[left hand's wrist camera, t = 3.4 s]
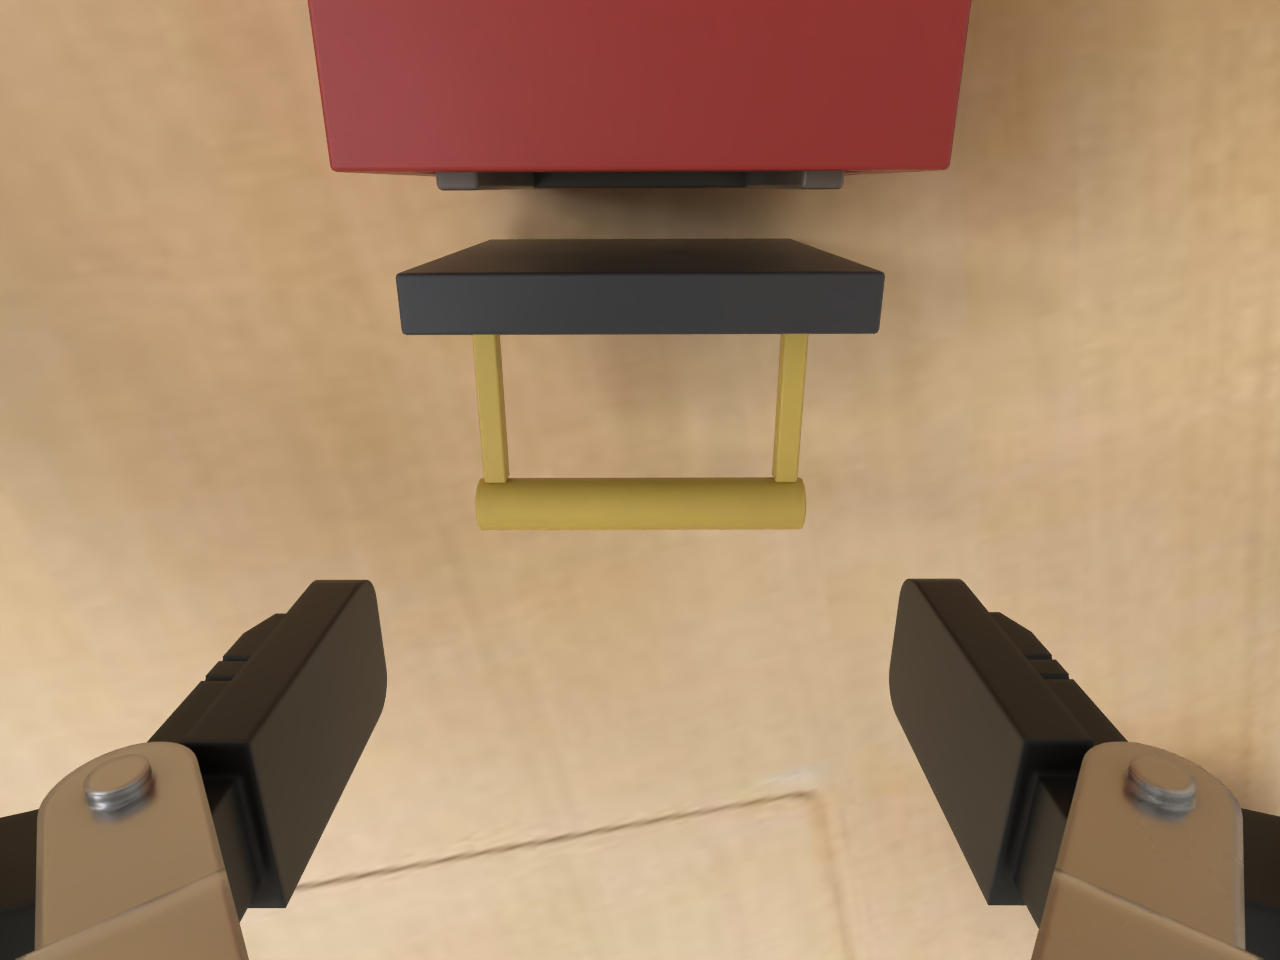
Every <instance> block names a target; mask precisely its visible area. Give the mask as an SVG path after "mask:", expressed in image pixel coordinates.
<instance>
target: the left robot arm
mask: <svg viewBox="0 0 1280 960" xmlns="http://www.w3.org/2000/svg"><path fill="white" fill-rule="evenodd" d="M889 686H890V695H891V701H892V705H893V708H894V711H895V714H896V716H897V718H898V720H899V722H900V724H901V726H902V728H903V730H904V732H905V734H906V736H907V738H908V741H909V743H910V745H911V747H912V749H913V751H914V753H915V755H916V757H917V759H918V761H919V763H920V765H921V767H922V769H923V771H924V774H925V776H926V778H927V780H928V782H929V784H930V786H931V788H932V790H933V792H934V794H935V796H936V798H937V800H938V802H939V804H940V806H941V809H942V811H943V813H944V815H945V817H946V819H947V821H948V823H949V825H950V827H951V829H952V831H953V833H954V835H955V837H956V839H957V842H958V844H959V846H960V848H961V850H962V852H963V854H964V856H965V858H966V860H967V862H968V864H969V866H970V868H971V870H972V872H973V875H974V877H975V879H976V881H977V883H978V885H979V887H980V889H981V891H982V893H983V895H984V897H985V899H986V901H987V903H988V905H1026V906H1027V908H1028V910H1029V911H1030V913H1031V915H1032V917H1033V919H1034V921H1035V923H1036V924H1037V926H1038V928H1039V931H1038V935H1037V939H1036V943H1035V947H1034V951H1033V954H1032V958H1031V960H1280V817H1279V816H1274V815H1269V814H1265V813H1260V812H1256V811H1251V810H1246V809H1242V808H1240V806H1239V804H1238V801H1237V800H1236V798H1235V797H1234V796H1233V794H1232V793H1231V792H1230V791H1229V790H1228V789H1227V788H1226V786H1225V785H1224V784H1223V783H1221V782H1220V781H1219V780H1218V779H1217V778H1215V777H1214V776H1213V775H1212V774H1210V773H1209V772H1207V771H1206V770H1204V769H1203V768H1201V767H1200V766H1198V765H1196V764H1194V763H1193V762H1191V761H1189V760H1187V759H1185V758H1183V757H1181V756H1178V755H1176V754H1174V753H1171V752H1168V751H1166V750H1163V749H1160V748H1156V747H1153V746H1149V745H1144V744H1140V743H1133V742H1128V741H1127V740H1126V739H1125V738H1124V737H1123V736H1122V734H1121V733H1120V732H1119V731H1118V730H1117V729H1116V728H1115V726H1114V725H1113V724H1112V723H1111V722H1110V721H1109V720H1108V718H1107V717H1106V716H1105V715H1104V714H1103V713H1102V712H1101V711H1100V709H1099V708H1098V707H1097V706H1096V705H1095V704H1094V703H1093V701H1092V700H1091V699H1090V698H1089V697H1088V696H1087V695H1086V693H1085V692H1084V691H1083V690H1082V689H1081V688H1080V687H1079V686H1078V684H1077V683H1076V682H1075V681H1074V680H1073V679H1069V674H1068V673H1067V672H1066V671H1065V670H1064V668H1063V667H1062V666H1061V665H1060V664H1059V663H1058V662H1057V660H1052V655H1051V654H1050V653H1049V651H1048V650H1047V649H1046V648H1045V647H1044V646H1043V645H1042V643H1041V642H1040V641H1039V640H1038V639H1037V638H1036V637H1035V635H1034V634H1033V633H1032V632H1031V631H1029V630H1027V629H1026V628H1024V627H1023V626H1021V625H1019V624H1018V623H1016V622H1014V621H1013V620H1011V619H1010V618H1008V617H1006V616H1005V615H1003V614H1002V613H1000V612H988V611H987V609H986V608H985V607H984V606H983V605H982V603H981V602H980V601H979V600H978V598H977V597H976V596H975V595H974V594H973V592H972V591H971V590H970V589H969V588H968V586H967V585H966V584H965V583H964V582H963V581H962V580H960V579H907V580H906V581H905V582H904V583H903V585H902V588H901V591H900V597H899V604H898V611H897V618H896V626H895V633H894V640H893V647H892V655H891V662H890V670H889ZM386 688H387V671H386V663H385V656H384V649H383V642H382V634H381V627H380V620H379V613H378V606H377V599H376V593H375V590H374V587H373V585H372V583H371V582H370V581H368V580H315V581H314V582H312V583H311V584H310V586H309V587H308V588H307V589H306V590H305V592H304V593H303V594H302V595H301V596H300V598H299V599H298V600H297V601H296V602H295V604H294V605H293V606H292V607H291V609H290V610H289V611H288V612H287V613H286V614H274V615H273V616H271V617H269V618H268V619H266V620H265V621H263V622H261V623H260V624H258V625H256V626H255V627H253V628H252V629H250V630H248V631H247V632H245V633H244V634H243V635H242V636H241V637H240V638H239V639H238V640H237V641H236V643H235V644H234V645H233V646H232V647H231V648H230V649H229V650H228V652H227V653H226V654H225V655H224V656H223V661H219V662H218V663H217V664H216V665H215V666H214V667H213V668H212V670H211V671H210V672H209V673H208V674H207V675H206V680H205V681H201V682H200V683H199V684H198V685H197V686H196V688H195V689H194V690H193V691H192V692H191V693H190V694H189V695H188V697H187V698H186V699H185V700H184V701H183V702H182V703H181V704H180V706H179V707H178V708H177V709H176V710H175V711H174V712H173V713H172V715H171V716H170V717H169V718H168V719H167V720H166V721H165V722H164V724H163V725H162V726H161V727H160V728H159V729H158V730H157V732H156V733H155V734H154V735H153V736H152V737H151V738H150V739H149V741H148V742H147V743H140V744H136V745H131V746H127V747H124V748H120V749H117V750H114V751H112V752H109V753H106V754H104V755H102V756H99V757H97V758H95V759H93V760H91V761H89V762H87V763H86V764H84V765H82V766H80V767H79V768H77V769H76V770H74V771H73V772H71V773H70V774H68V775H67V776H66V777H65V778H63V779H62V780H61V781H60V782H59V783H57V784H56V785H55V786H54V788H53V789H52V790H51V791H50V792H49V793H48V794H47V796H46V797H45V798H44V800H43V801H42V804H41V806H40V808H39V809H37V810H33V811H29V812H25V813H20V814H16V815H11V816H6V817H2V818H0V960H249V958H248V954H247V951H246V947H245V943H244V939H243V935H242V931H241V927H240V921H241V919H242V917H243V915H244V914H245V912H246V910H247V908H286V906H287V904H288V902H289V900H290V898H291V896H292V894H293V892H294V890H295V888H296V886H297V884H298V882H299V880H300V878H301V876H302V874H303V872H304V870H305V868H306V866H307V864H308V862H309V860H310V858H311V856H312V854H313V852H314V849H315V847H316V845H317V843H318V841H319V839H320V837H321V835H322V833H323V831H324V829H325V827H326V825H327V823H328V821H329V819H330V817H331V815H332V813H333V811H334V809H335V807H336V805H337V803H338V801H339V799H340V797H341V795H342V792H343V790H344V788H345V786H346V784H347V782H348V780H349V778H350V776H351V774H352V772H353V770H354V768H355V766H356V764H357V762H358V760H359V758H360V756H361V754H362V752H363V750H364V748H365V746H366V744H367V742H368V740H369V738H370V736H371V733H372V731H373V729H374V727H375V725H376V723H377V721H378V719H379V717H380V715H381V713H382V710H383V706H384V702H385V697H386Z"/></svg>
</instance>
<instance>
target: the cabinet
mask: <svg viewBox="0 0 1280 960" xmlns="http://www.w3.org/2000/svg"><path fill="white" fill-rule="evenodd" d="M308 6H309V13H310V20H311V27H312V35H313V42H314V49H315V57H316V64H317V71H318V79H319V86H320V93H321V101H322V108H323V115H324V122H325V130H326V137H327V144H328V152H329V159H330V166H331V168H332V170H333V171H336V172H352V173H373V174H396V175H418V176H436V172H700V171H844V175H855V174H875V173H895V172H915V171H934V170H945V169H947V168H948V167H949V165H950V158H951V151H952V143H953V136H954V128H955V120H956V113H957V105H958V98H959V90H960V82H961V75H962V67H963V60H964V52H965V44H966V37H967V29H968V22H969V14H970V6H971V0H308Z"/></svg>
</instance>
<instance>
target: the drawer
mask: <svg viewBox="0 0 1280 960" xmlns="http://www.w3.org/2000/svg"><path fill="white" fill-rule="evenodd" d="M436 179H437V186H438V188H439V189H440V190H499V189H544V188H774V189H840V188H842V186H843V180H844V171H700V172H436ZM884 279H885V275H884V273H883V272H881V271H878V270H875V269H872V268H870V267H867V266H864V265H861V264H858V263H856V262H853V261H850V260H847V259H844V258H842V257H839V256H836V255H833V254H830V253H828V252H825V251H822V250H819V249H816V248H814V247H811V246H808V245H805V244H802V243H800V242H797V241H794V240H791V239H553V240H489V241H486V242H483V243H480V244H478V245H475V246H472V247H469V248H467V249H464V250H461V251H459V252H456V253H453V254H450V255H448V256H445V257H442V258H439V259H437V260H434V261H431V262H428V263H426V264H423V265H420V266H417V267H415V268H412V269H409V270H406V271H404V272H401V273H399V274H397V275H396V284H397V292H398V301H399V310H400V319H401V327H402V332H403V334H406V335H473V347H474V360H475V372H476V384H477V397H478V409H479V421H480V434H481V446H482V458H483V471H484V478H482V479H480V481H479V483H478V486H477V491H476V518H477V523H478V526H479V528H480V529H481V530H680V529H801V528H802V527H803V524H804V521H805V515H806V494H805V487H804V483H803V481H802V479H801V478H799V477H797V476H798V463H799V450H800V436H801V423H802V410H803V397H804V384H805V371H806V357H807V344H808V334H874V333H877V332H878V330H879V325H880V316H881V307H882V298H883V289H884ZM568 334H781V342H780V358H779V373H778V389H777V405H776V421H775V437H774V453H773V468H772V475H773V477H774V478H508V477H509V463H508V448H507V433H506V419H505V404H504V390H503V375H502V360H501V346H500V335H568Z"/></svg>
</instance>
